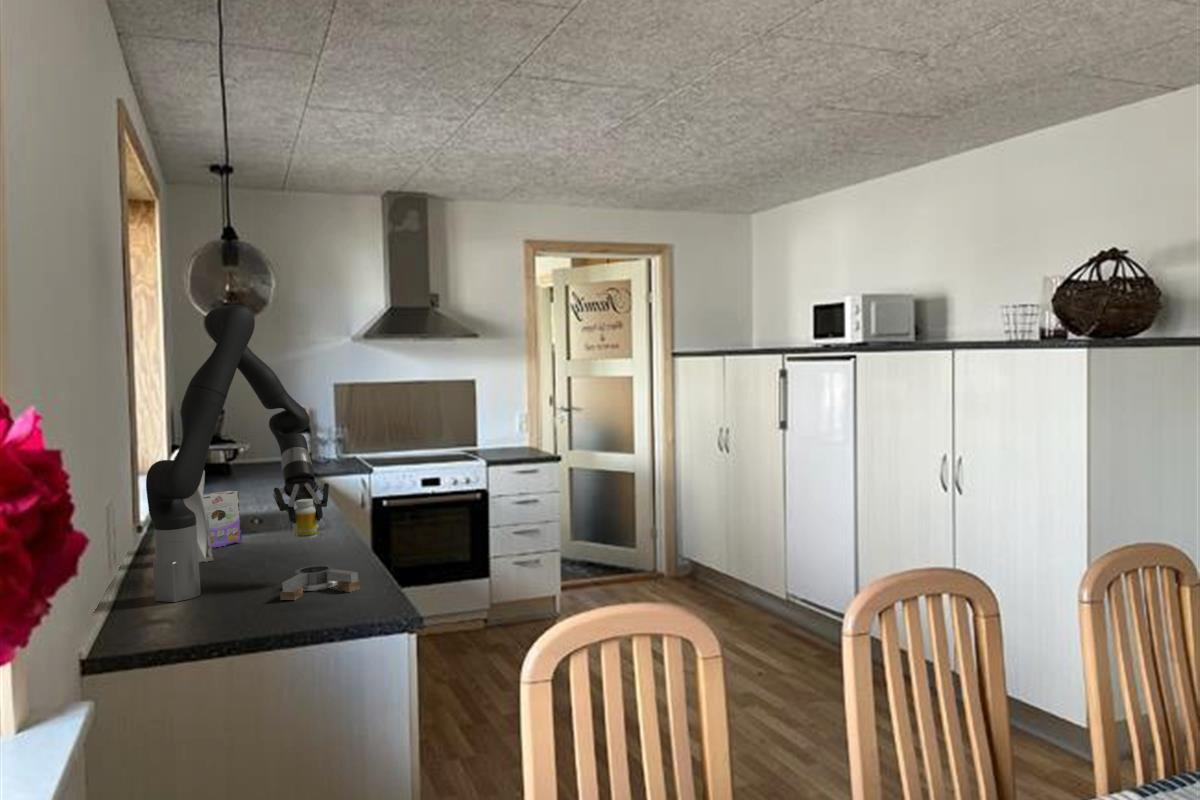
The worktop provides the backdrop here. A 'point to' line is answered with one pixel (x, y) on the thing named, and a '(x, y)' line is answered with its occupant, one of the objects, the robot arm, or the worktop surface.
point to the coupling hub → (316, 577)
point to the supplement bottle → (305, 519)
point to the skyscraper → (201, 523)
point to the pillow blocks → (340, 587)
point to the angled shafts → (331, 575)
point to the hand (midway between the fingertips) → (306, 520)
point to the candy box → (223, 517)
